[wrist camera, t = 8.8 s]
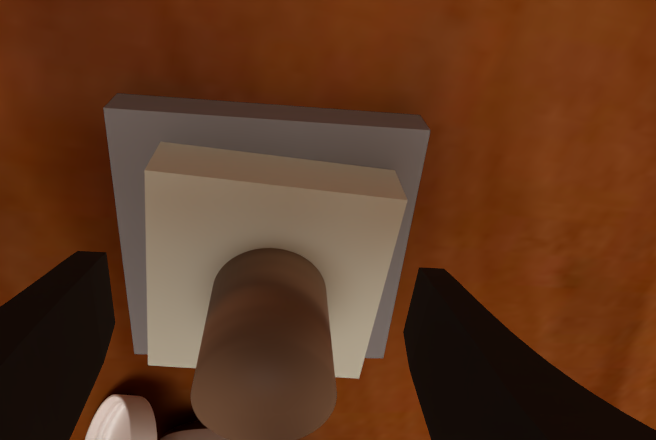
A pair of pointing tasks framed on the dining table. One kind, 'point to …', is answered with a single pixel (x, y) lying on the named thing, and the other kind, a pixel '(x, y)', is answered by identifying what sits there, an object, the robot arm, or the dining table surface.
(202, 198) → the tower top
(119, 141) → the tower base
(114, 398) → the spread jar
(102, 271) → the robot arm
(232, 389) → the walnut cylinder
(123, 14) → the dining table surface
